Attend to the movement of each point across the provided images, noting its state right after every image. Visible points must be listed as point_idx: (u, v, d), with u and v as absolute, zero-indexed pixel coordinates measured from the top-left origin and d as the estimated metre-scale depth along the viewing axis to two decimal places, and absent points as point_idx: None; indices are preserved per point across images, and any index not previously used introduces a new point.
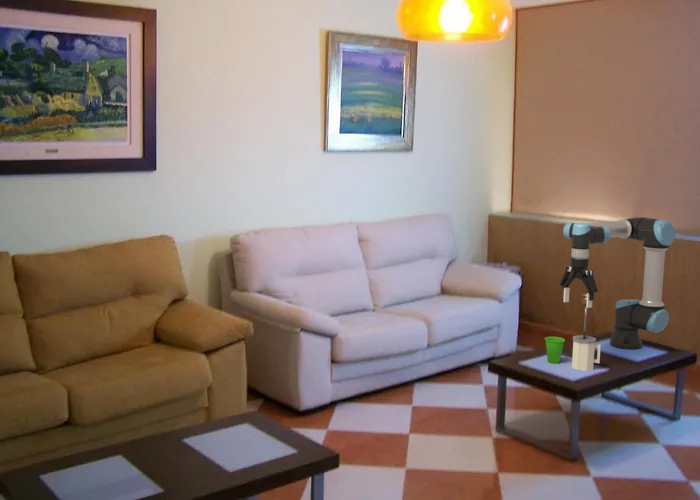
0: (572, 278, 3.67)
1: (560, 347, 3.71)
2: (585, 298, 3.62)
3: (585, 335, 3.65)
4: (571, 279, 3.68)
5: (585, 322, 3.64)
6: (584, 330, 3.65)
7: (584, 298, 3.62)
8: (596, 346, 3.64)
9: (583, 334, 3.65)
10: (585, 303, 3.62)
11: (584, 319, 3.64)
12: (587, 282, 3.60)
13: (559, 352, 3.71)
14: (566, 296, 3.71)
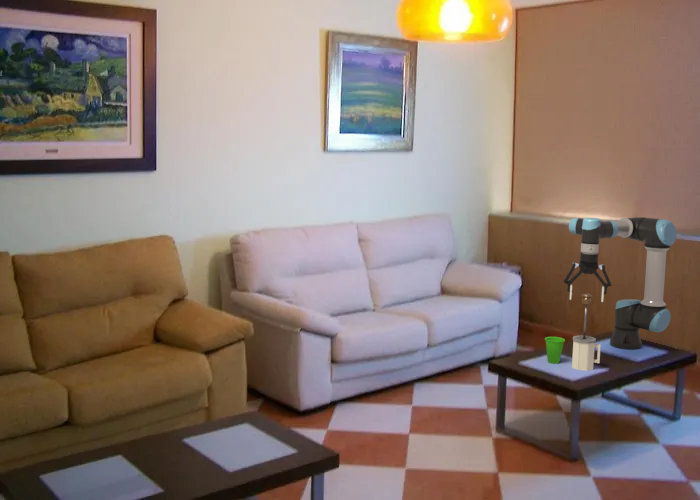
0: (580, 274, 3.62)
1: (560, 347, 3.71)
2: (585, 298, 3.62)
3: (585, 335, 3.65)
4: (578, 275, 3.62)
5: (585, 322, 3.64)
6: (584, 330, 3.65)
7: (584, 298, 3.62)
8: (596, 346, 3.64)
9: (583, 334, 3.65)
10: (585, 303, 3.62)
11: (584, 319, 3.64)
12: None
13: (559, 352, 3.71)
14: (571, 293, 3.64)
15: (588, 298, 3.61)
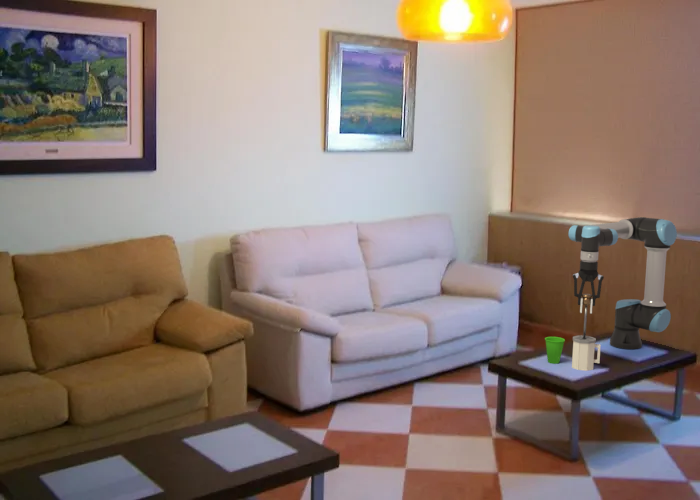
0: (584, 283, 3.62)
1: (560, 347, 3.71)
2: (585, 298, 3.62)
3: (585, 335, 3.65)
4: None
5: (585, 322, 3.64)
6: (584, 330, 3.65)
7: (584, 298, 3.62)
8: (596, 346, 3.64)
9: (583, 334, 3.65)
10: (585, 303, 3.62)
11: (584, 319, 3.64)
12: None
13: (559, 352, 3.71)
14: None
15: (588, 298, 3.61)
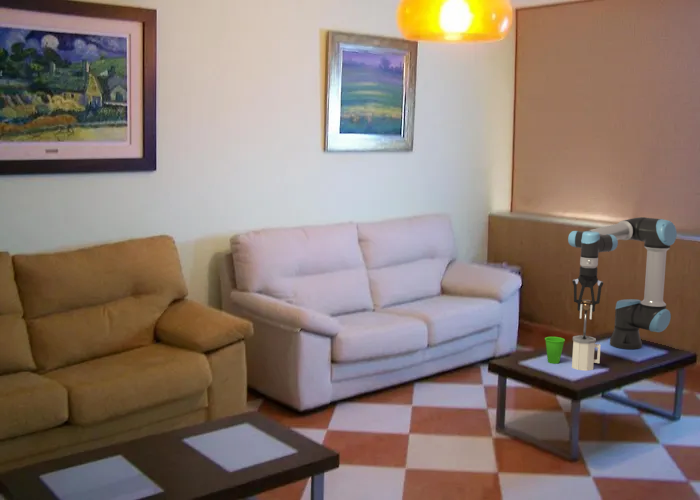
0: None
1: (559, 347, 3.71)
2: (585, 304, 3.62)
3: None
4: (583, 291, 3.62)
5: (585, 328, 3.65)
6: (584, 336, 3.65)
7: (584, 304, 3.62)
8: (596, 346, 3.64)
9: None
10: (585, 309, 3.62)
11: (584, 325, 3.65)
12: (593, 293, 3.62)
13: (559, 352, 3.71)
14: (581, 312, 3.64)
15: (588, 304, 3.62)
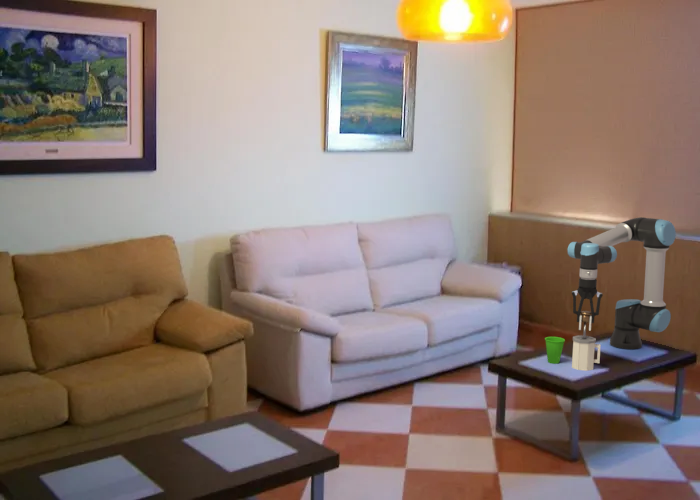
0: None
1: (560, 347, 3.71)
2: (584, 315, 3.63)
3: None
4: (582, 302, 3.63)
5: None
6: None
7: (583, 315, 3.63)
8: (596, 346, 3.64)
9: None
10: (584, 320, 3.63)
11: (583, 336, 3.66)
12: None
13: (559, 352, 3.71)
14: None
15: (587, 315, 3.62)
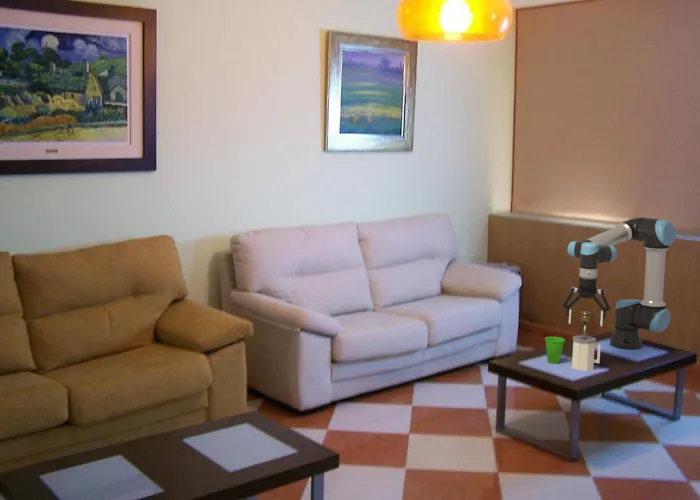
0: (579, 298, 3.64)
1: (559, 347, 3.71)
2: (584, 316, 3.63)
3: None
4: (577, 299, 3.64)
5: None
6: None
7: (583, 316, 3.63)
8: (596, 346, 3.64)
9: None
10: (584, 321, 3.63)
11: (583, 336, 3.66)
12: (599, 301, 3.62)
13: (559, 352, 3.71)
14: (570, 317, 3.66)
15: (587, 315, 3.62)
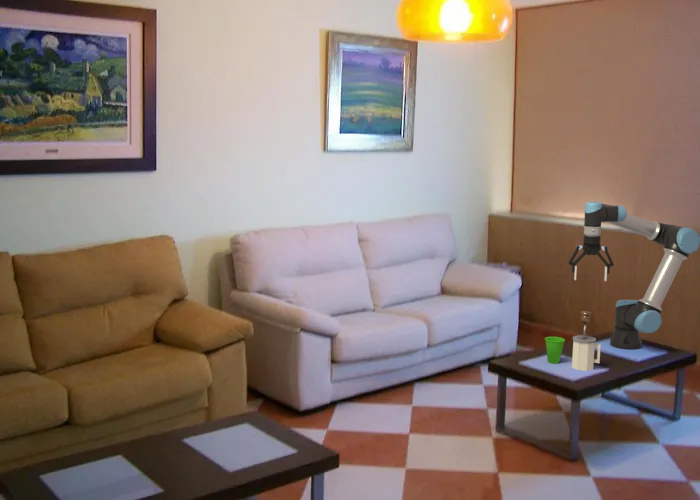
0: (583, 255, 3.81)
1: (560, 347, 3.71)
2: (584, 316, 3.63)
3: None
4: (582, 257, 3.81)
5: None
6: None
7: (583, 316, 3.63)
8: (596, 346, 3.64)
9: None
10: (584, 321, 3.63)
11: (583, 336, 3.66)
12: None
13: (559, 352, 3.71)
14: None
15: (587, 315, 3.62)
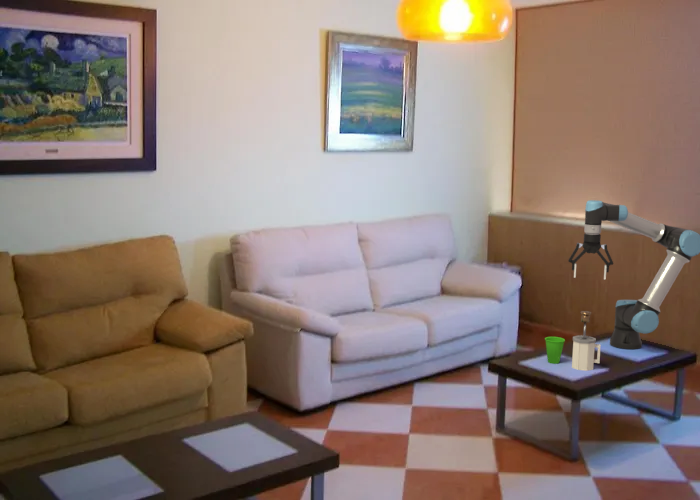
0: (583, 253, 3.84)
1: (560, 347, 3.71)
2: (584, 316, 3.63)
3: None
4: (582, 255, 3.84)
5: None
6: None
7: (583, 316, 3.63)
8: (596, 346, 3.64)
9: None
10: (584, 321, 3.63)
11: (583, 336, 3.66)
12: (602, 255, 3.82)
13: (559, 352, 3.71)
14: (575, 272, 3.86)
15: (587, 315, 3.62)
